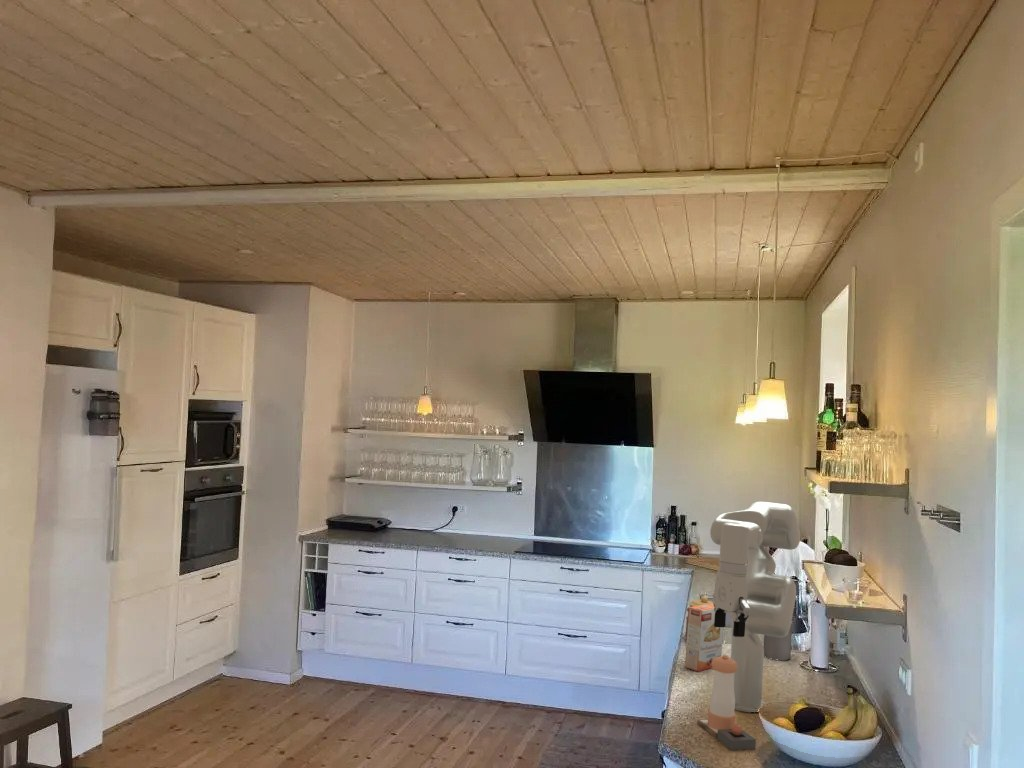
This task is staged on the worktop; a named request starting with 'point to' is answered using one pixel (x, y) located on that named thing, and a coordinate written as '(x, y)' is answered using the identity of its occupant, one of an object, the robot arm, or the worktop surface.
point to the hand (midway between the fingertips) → (728, 631)
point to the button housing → (736, 740)
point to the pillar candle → (778, 646)
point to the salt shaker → (722, 694)
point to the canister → (696, 603)
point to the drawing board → (708, 727)
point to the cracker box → (702, 638)
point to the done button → (736, 729)
